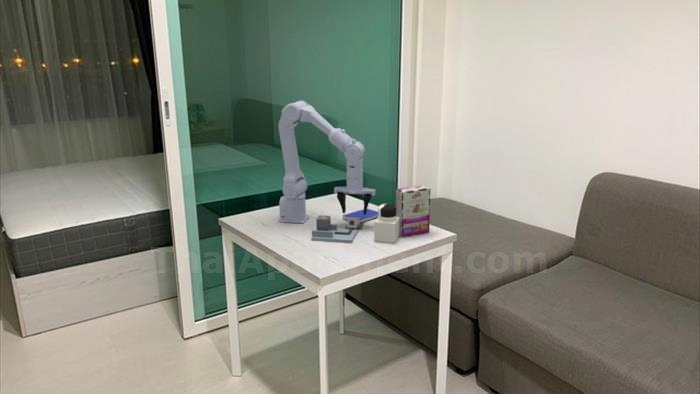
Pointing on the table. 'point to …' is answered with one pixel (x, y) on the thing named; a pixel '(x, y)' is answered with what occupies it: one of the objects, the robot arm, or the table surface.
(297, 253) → the table surface
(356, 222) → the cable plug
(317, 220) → the block
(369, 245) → the table surface
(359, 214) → the hard drive
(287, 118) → the robot arm
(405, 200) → the candy bar box
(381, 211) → the medicine bottle
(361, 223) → the mat
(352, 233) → the blue-grey panel
